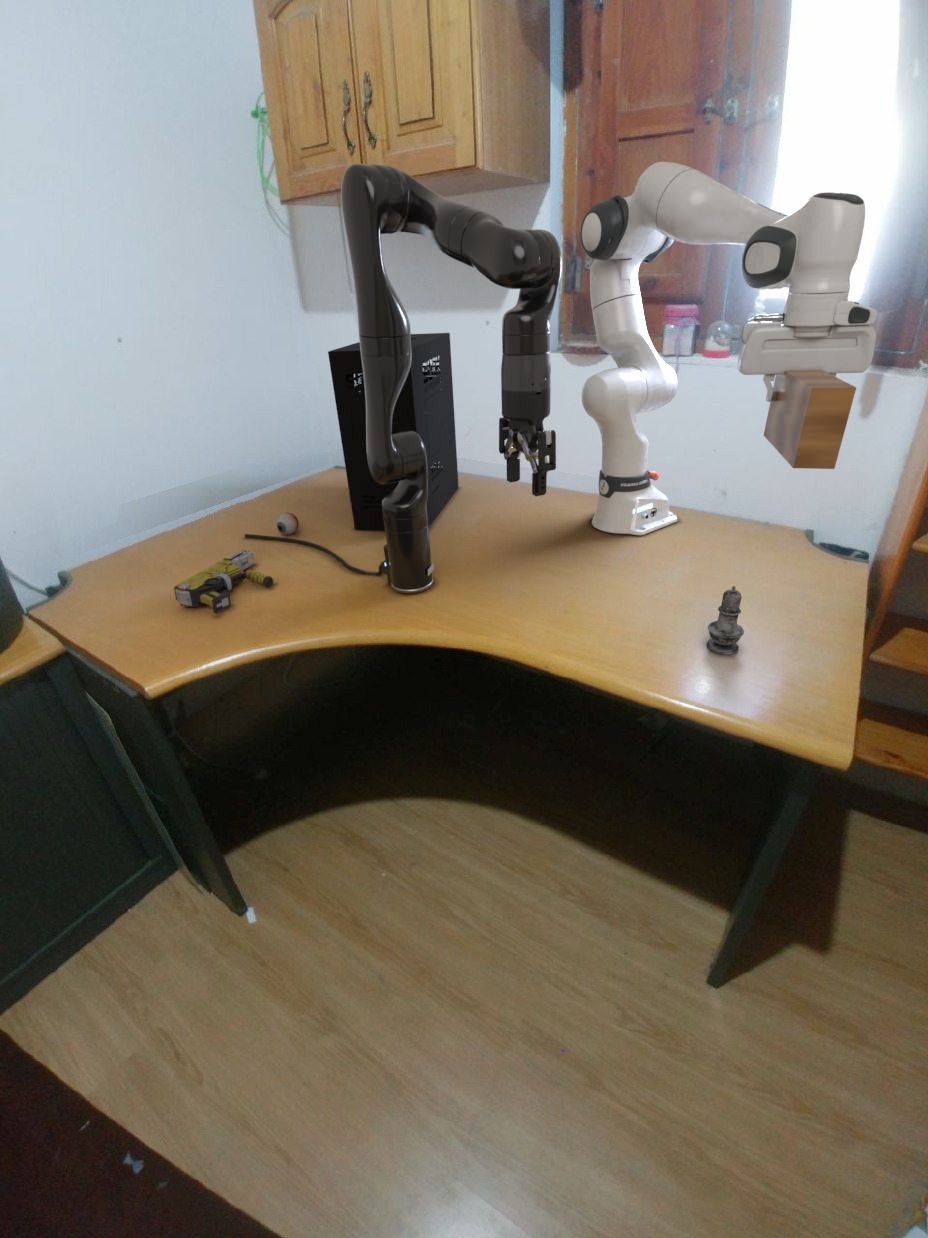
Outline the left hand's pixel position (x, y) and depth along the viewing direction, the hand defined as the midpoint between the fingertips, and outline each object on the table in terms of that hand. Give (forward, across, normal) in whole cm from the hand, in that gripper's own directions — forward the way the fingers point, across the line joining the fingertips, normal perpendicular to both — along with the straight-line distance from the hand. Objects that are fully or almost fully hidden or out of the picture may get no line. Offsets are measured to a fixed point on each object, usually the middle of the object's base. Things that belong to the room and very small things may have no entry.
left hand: (525, 487), depth 100 cm
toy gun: (+28, -49, -47) cm, 74 cm away
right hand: (-9, +8, +49) cm, 50 cm away
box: (-2, +14, +44) cm, 47 cm away
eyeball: (+28, -77, -30) cm, 87 cm away
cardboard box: (+28, -79, +6) cm, 84 cm away
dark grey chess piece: (+28, +21, +28) cm, 45 cm away
